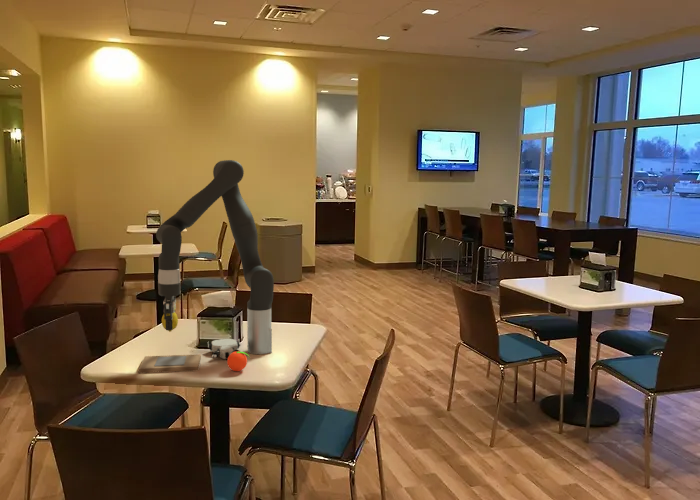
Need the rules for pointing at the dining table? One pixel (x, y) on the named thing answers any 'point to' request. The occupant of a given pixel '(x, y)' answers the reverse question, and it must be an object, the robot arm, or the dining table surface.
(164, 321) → the lemon
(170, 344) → the dining table surface
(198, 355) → the serving board
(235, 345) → the robot toy
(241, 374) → the dining table surface
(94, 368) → the dining table surface
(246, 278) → the robot arm
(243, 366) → the clementine
